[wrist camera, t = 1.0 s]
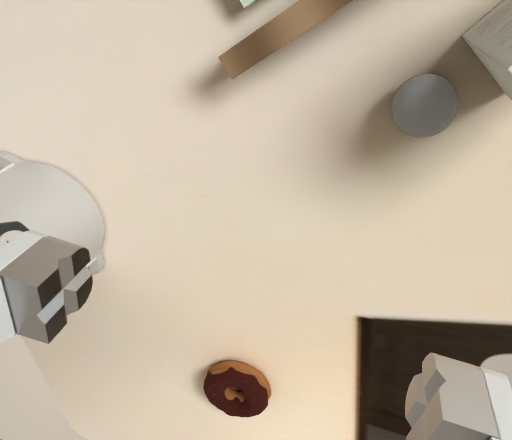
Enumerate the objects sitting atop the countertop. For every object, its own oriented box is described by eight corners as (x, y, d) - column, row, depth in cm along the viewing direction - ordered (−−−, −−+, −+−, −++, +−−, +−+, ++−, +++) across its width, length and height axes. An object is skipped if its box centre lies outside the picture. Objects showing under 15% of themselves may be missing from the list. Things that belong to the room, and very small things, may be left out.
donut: (265, 408, 64) (259, 432, 61) (205, 388, 65) (196, 410, 62) (279, 368, 58) (273, 392, 55) (213, 347, 59) (204, 369, 56)
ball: (404, 135, 38) (408, 156, 34) (381, 87, 36) (382, 102, 32) (461, 109, 35) (473, 127, 31) (439, 55, 34) (448, 68, 30)
